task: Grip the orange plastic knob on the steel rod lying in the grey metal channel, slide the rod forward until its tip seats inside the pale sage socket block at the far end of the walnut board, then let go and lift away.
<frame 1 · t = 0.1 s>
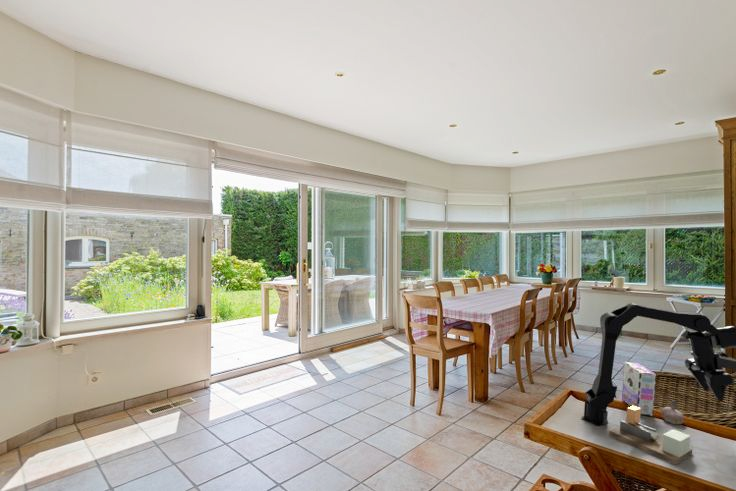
hand: (713, 395, 131), 15 cm above the table, tool pointing down, fingers open, 9 cm apart
slip rod: (639, 421, 130), point 6 cm above the table, slide at 0.0 cm
base board: (648, 444, 127), on the table
garlic bulb: (672, 421, 144), on the table
socket block: (675, 455, 121), resting on base board
channel: (636, 438, 130), resting on base board
candy box: (636, 408, 155), on the table
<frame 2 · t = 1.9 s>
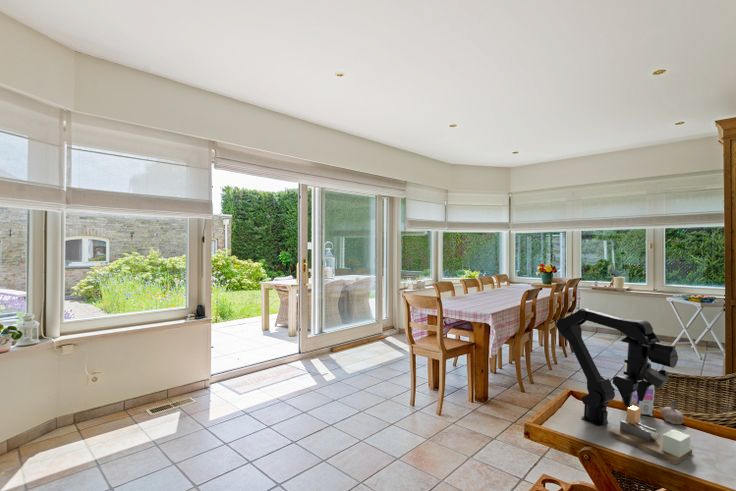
hand: (634, 403, 131), 11 cm above the table, tool pointing down, fingers open, 9 cm apart
nothing on the table moved.
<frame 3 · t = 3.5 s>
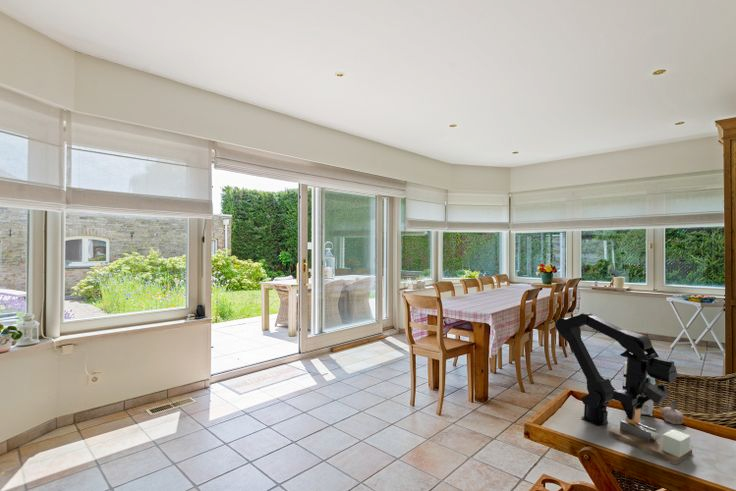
hand: (633, 417, 131), 7 cm above the table, tool pointing down, fingers closed on slip rod, 4 cm apart
slip rod: (639, 421, 130), point 6 cm above the table, slide at 0.0 cm, touching gripper
everything else where it was.
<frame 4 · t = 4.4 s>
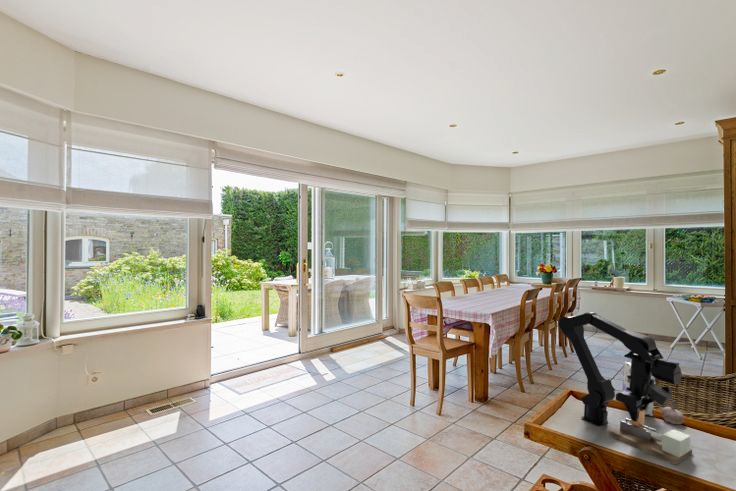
hand: (637, 419, 130), 7 cm above the table, tool pointing down, fingers closed on slip rod, 4 cm apart
slip rod: (644, 423, 129), point 6 cm above the table, slide at 1.3 cm, touching gripper
everything else where it was.
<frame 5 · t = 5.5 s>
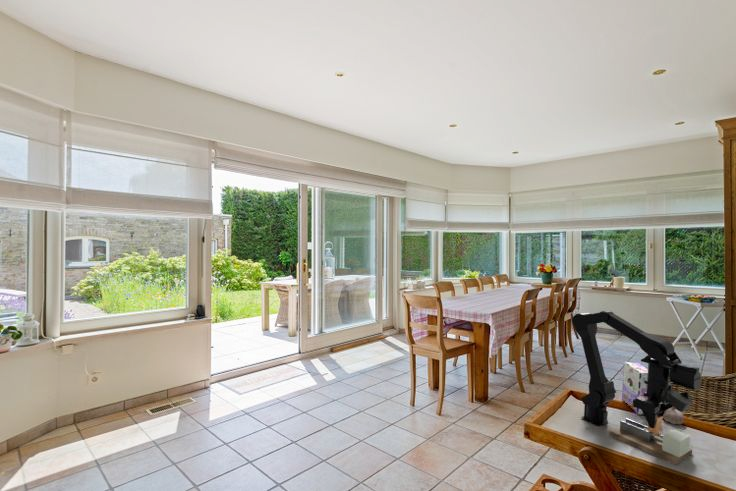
hand: (654, 426, 126), 7 cm above the table, tool pointing down, fingers closed on slip rod, 4 cm apart
slip rod: (661, 430, 124), point 6 cm above the table, slide at 6.3 cm, touching gripper
everything else where it was.
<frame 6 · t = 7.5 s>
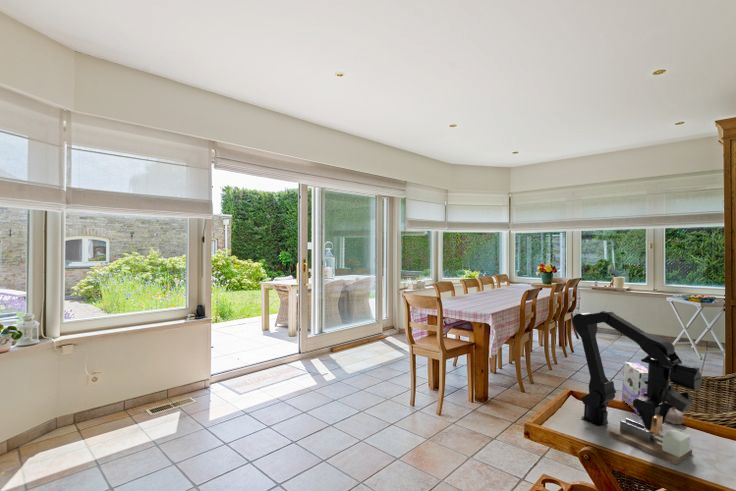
hand: (655, 426, 126), 7 cm above the table, tool pointing down, fingers open, 9 cm apart
slip rod: (661, 430, 124), point 6 cm above the table, slide at 6.3 cm
everything else where it was.
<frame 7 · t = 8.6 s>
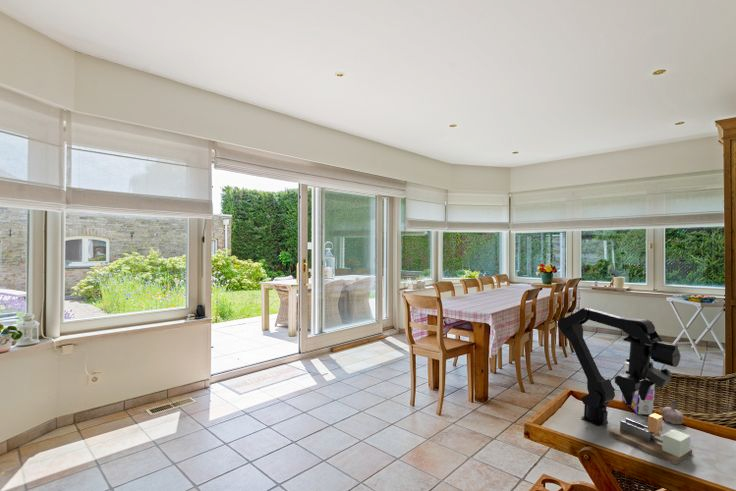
hand: (636, 402, 131), 12 cm above the table, tool pointing down, fingers open, 9 cm apart
nothing on the table moved.
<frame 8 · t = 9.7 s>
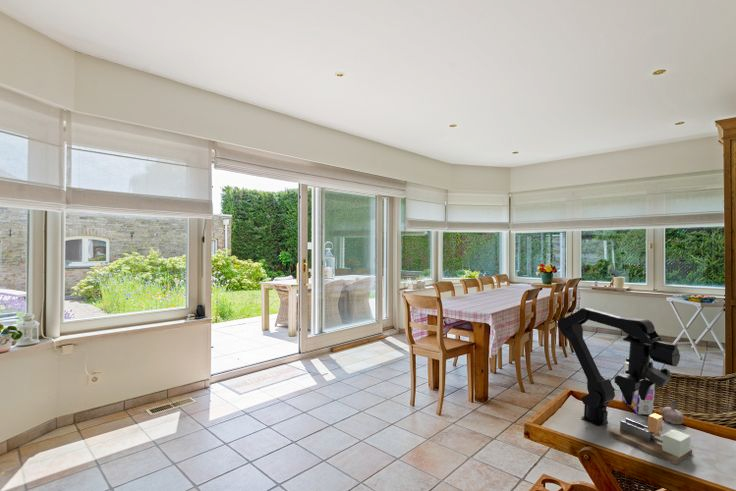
hand: (636, 402, 131), 12 cm above the table, tool pointing down, fingers open, 9 cm apart
nothing on the table moved.
at the end: slip rod slide at 6.3 cm; the gripper is holding nothing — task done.
